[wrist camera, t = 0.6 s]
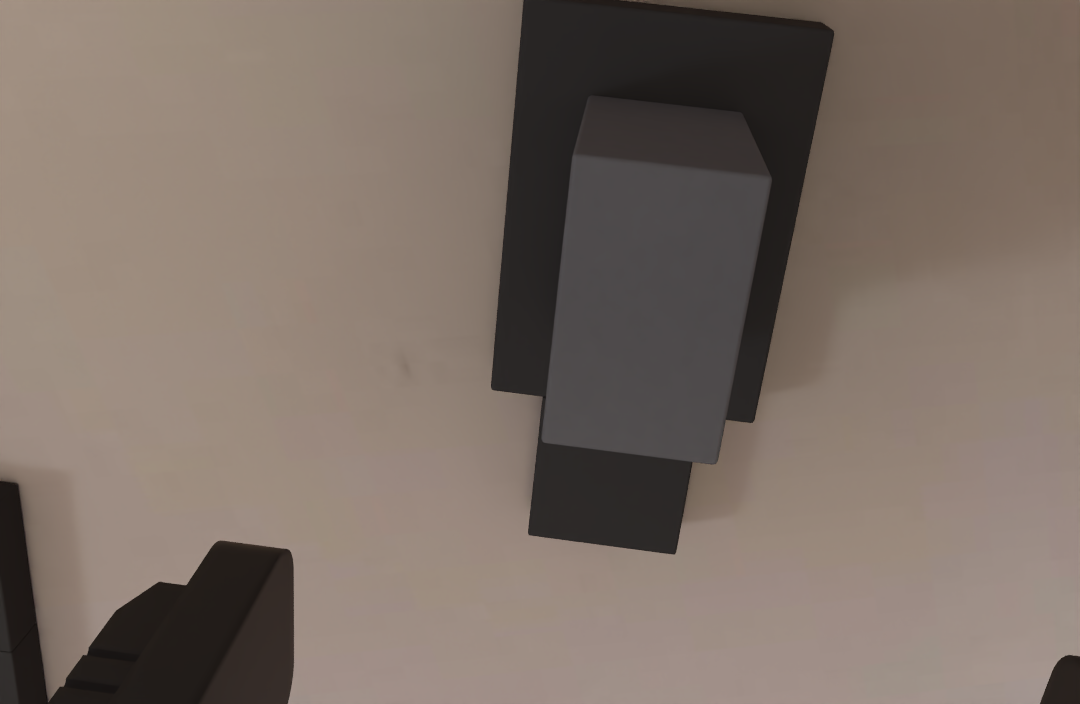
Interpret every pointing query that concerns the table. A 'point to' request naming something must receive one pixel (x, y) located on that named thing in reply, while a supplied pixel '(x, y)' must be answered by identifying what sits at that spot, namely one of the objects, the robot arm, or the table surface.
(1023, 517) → the table surface
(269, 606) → the robot arm
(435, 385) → the table surface
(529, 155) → the pad
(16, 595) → the notch pad
